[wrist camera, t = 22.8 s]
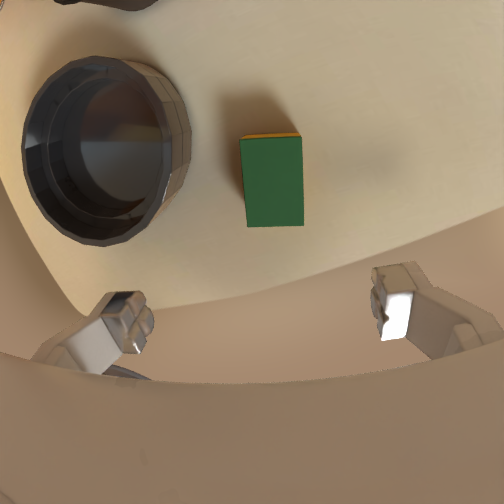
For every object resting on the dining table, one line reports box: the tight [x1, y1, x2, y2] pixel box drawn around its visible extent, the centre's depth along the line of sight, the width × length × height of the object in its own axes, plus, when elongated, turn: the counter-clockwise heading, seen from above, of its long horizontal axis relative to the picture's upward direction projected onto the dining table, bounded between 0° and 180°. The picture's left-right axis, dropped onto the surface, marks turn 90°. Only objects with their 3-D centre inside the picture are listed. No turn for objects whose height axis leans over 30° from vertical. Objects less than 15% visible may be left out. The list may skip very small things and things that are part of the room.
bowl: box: [21, 56, 192, 247], centre depth 22 cm, size 16×16×6 cm
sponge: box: [239, 133, 304, 227], centre depth 23 cm, size 7×4×4 cm, turn 5°
